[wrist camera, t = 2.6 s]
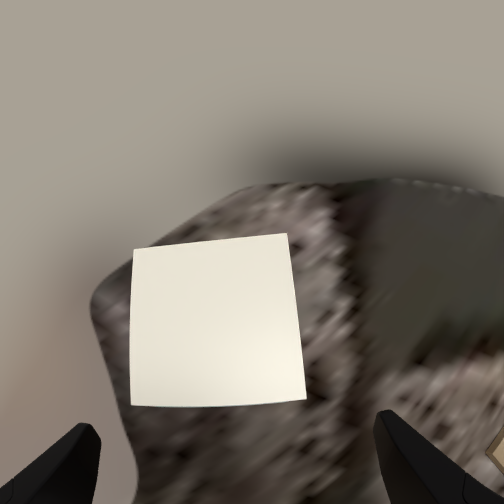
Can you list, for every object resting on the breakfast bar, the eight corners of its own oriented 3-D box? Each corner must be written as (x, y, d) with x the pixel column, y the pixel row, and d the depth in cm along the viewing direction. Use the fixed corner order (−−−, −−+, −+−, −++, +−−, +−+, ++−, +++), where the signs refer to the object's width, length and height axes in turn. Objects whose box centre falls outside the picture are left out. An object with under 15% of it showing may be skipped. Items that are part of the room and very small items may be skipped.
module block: (287, 393, 18) (306, 400, 7) (214, 398, 18) (131, 406, 7) (280, 321, 20) (286, 231, 9) (210, 327, 20) (134, 247, 9)
